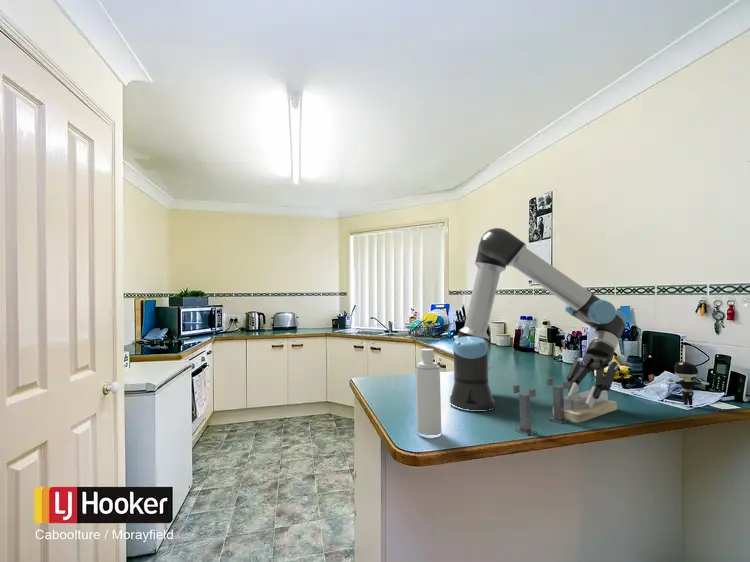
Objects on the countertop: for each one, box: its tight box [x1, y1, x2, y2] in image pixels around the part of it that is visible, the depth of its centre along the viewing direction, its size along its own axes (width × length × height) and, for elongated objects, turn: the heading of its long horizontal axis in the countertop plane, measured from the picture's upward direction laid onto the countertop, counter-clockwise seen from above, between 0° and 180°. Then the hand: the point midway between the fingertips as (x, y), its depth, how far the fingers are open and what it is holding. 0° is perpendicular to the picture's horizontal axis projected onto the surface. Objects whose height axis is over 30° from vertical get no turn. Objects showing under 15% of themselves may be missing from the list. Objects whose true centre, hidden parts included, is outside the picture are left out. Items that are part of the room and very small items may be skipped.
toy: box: [664, 360, 710, 406], centre depth 115 cm, size 13×6×15 cm, turn 84°
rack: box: [512, 377, 570, 436], centre depth 99 cm, size 6×20×12 cm, turn 120°
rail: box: [564, 389, 609, 412], centre depth 110 cm, size 4×20×4 cm, turn 120°
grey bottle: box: [415, 348, 442, 435], centre depth 95 cm, size 7×7×25 cm
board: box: [552, 399, 618, 424], centre depth 110 cm, size 8×23×2 cm, turn 120°
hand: (578, 403), depth 107 cm, fingers open, 5 cm apart
